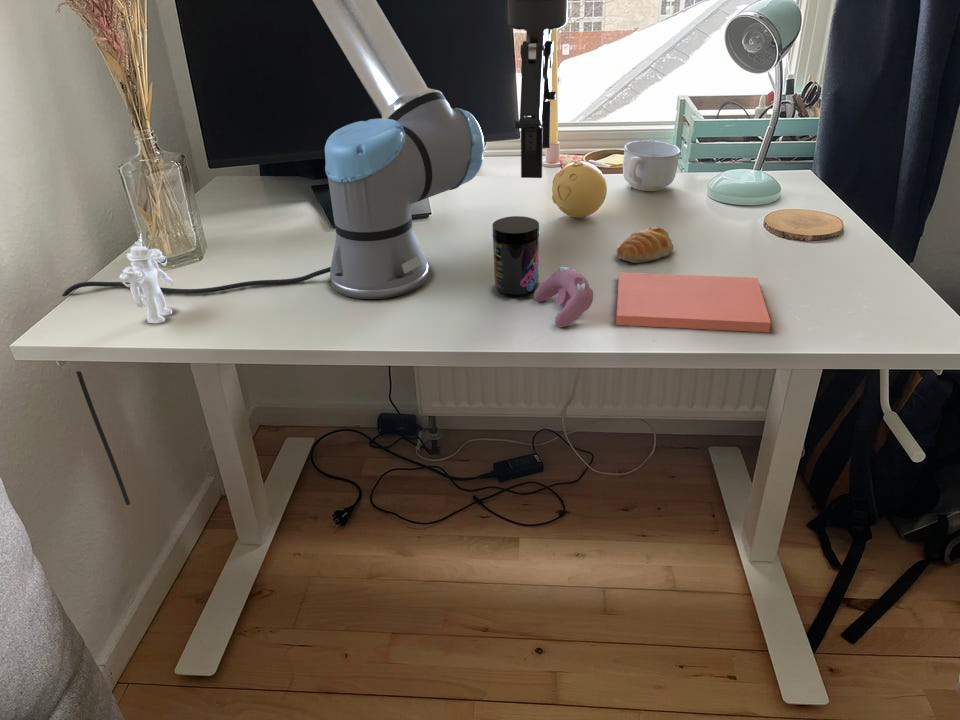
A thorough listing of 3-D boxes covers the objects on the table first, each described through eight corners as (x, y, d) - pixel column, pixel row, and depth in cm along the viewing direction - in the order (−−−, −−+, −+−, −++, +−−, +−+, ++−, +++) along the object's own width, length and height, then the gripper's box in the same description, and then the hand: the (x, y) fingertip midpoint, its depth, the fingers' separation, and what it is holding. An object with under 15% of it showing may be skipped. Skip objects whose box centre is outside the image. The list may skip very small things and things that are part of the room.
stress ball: (600, 205, 144) (603, 152, 139) (609, 224, 135) (612, 169, 130) (548, 207, 144) (548, 155, 139) (554, 226, 135) (555, 171, 130)
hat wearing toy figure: (163, 302, 115) (141, 228, 109) (186, 303, 114) (166, 228, 108) (130, 331, 108) (105, 253, 101) (155, 332, 107) (131, 254, 101)
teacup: (643, 174, 158) (646, 136, 154) (687, 185, 151) (691, 145, 147) (600, 191, 150) (602, 151, 146) (645, 203, 143) (648, 162, 139)
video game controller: (581, 335, 104) (604, 291, 102) (554, 327, 102) (577, 282, 100) (555, 305, 112) (576, 263, 110) (529, 297, 110) (550, 254, 108)
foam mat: (615, 325, 103) (616, 315, 103) (618, 281, 115) (619, 272, 114) (769, 332, 100) (771, 322, 99) (756, 286, 112) (757, 277, 111)
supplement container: (515, 304, 110) (514, 237, 104) (485, 290, 114) (482, 224, 109) (548, 289, 114) (549, 224, 108) (517, 276, 118) (516, 212, 113)
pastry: (637, 269, 118) (639, 247, 116) (605, 257, 123) (606, 235, 121) (676, 253, 123) (678, 231, 121) (644, 242, 128) (645, 220, 126)
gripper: (561, 5, 83) (557, 192, 94) (573, -19, 104) (568, 136, 115) (493, 6, 84) (497, 190, 95) (518, -18, 105) (519, 136, 116)
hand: (536, 161), depth 105 cm, fingers open, 13 cm apart
